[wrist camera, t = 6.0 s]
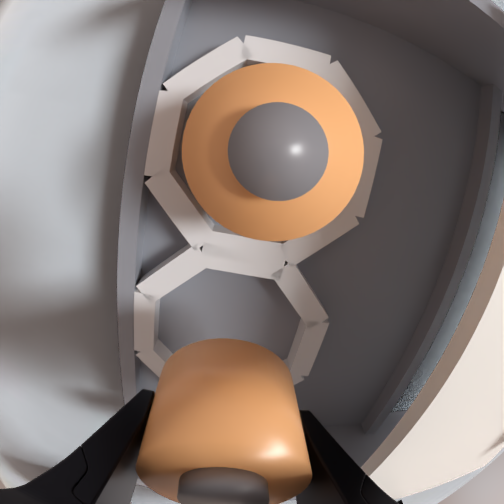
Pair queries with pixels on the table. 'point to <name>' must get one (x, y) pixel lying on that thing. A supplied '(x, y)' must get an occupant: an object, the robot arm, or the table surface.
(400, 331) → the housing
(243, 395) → the orange grey rounded piece
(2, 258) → the table surface
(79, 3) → the table surface
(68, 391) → the table surface
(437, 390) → the lid
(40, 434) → the table surface
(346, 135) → the orange grey domed knob
